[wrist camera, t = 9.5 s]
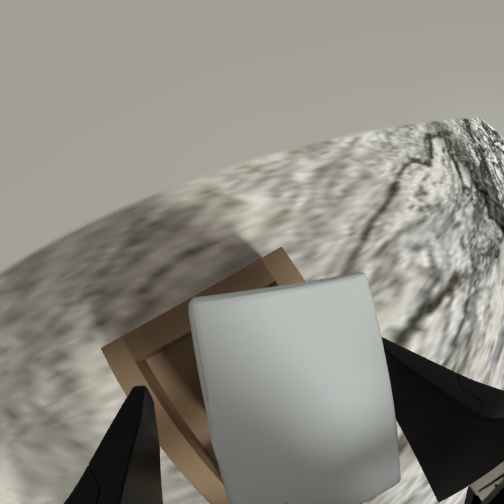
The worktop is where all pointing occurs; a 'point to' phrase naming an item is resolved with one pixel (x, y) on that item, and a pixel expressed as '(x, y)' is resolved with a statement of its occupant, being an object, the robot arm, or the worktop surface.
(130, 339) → the walnut holder
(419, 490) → the worktop surface
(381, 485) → the skincare box
